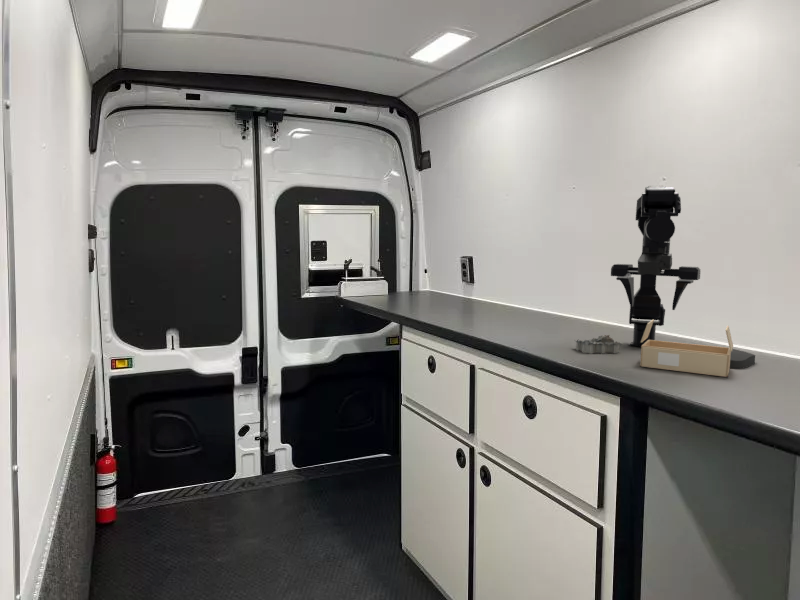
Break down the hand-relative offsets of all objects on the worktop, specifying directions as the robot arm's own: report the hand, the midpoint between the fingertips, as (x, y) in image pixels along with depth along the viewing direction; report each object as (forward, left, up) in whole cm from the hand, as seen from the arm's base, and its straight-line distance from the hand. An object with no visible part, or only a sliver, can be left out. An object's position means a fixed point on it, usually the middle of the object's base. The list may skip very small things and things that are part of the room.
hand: (652, 308), depth 135 cm
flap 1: (-2, -2, -8) cm, 9 cm away
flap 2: (-2, +17, -8) cm, 19 cm away
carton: (-2, +8, -14) cm, 16 cm away
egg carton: (-11, -14, -14) cm, 23 cm away
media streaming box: (-16, +14, -14) cm, 26 cm away
